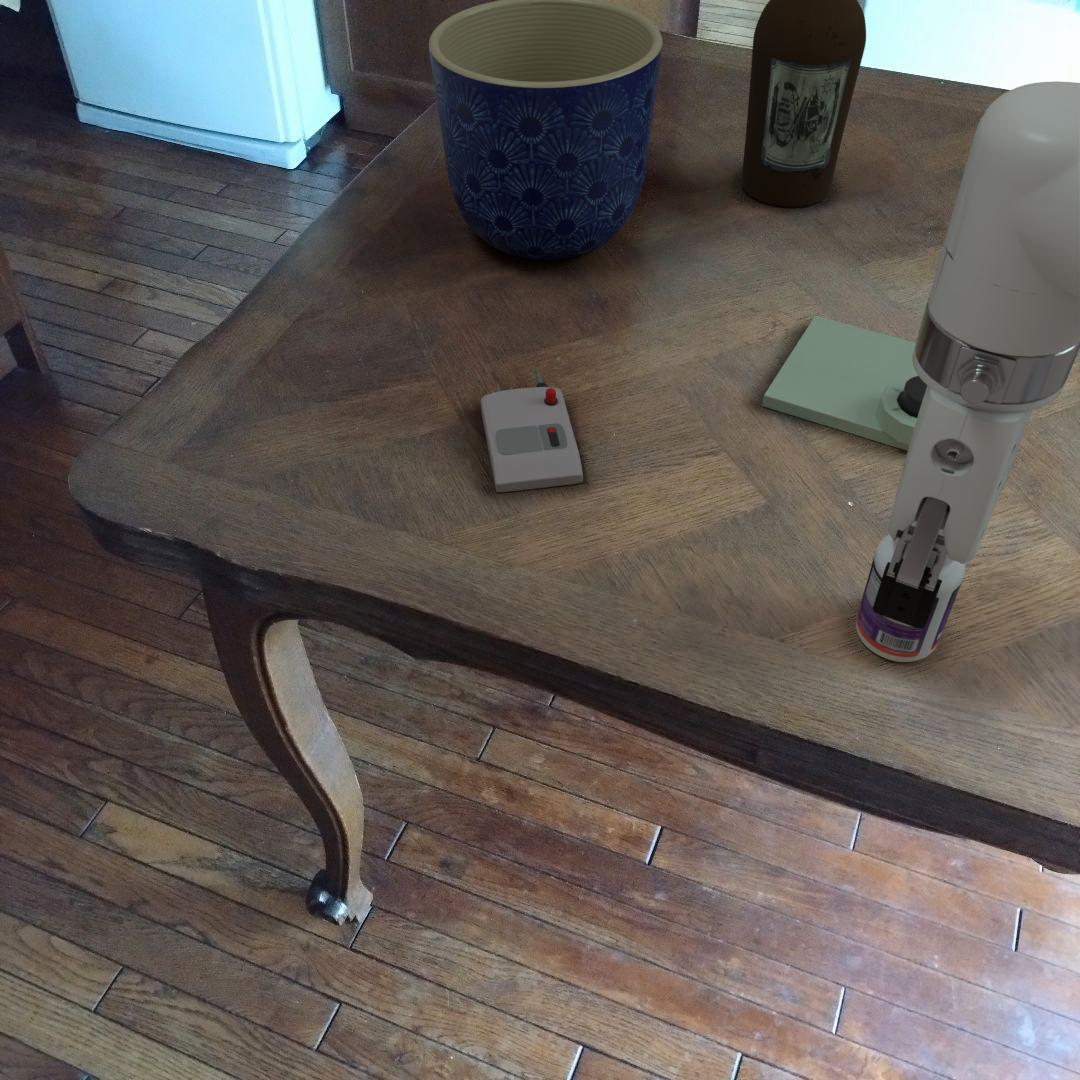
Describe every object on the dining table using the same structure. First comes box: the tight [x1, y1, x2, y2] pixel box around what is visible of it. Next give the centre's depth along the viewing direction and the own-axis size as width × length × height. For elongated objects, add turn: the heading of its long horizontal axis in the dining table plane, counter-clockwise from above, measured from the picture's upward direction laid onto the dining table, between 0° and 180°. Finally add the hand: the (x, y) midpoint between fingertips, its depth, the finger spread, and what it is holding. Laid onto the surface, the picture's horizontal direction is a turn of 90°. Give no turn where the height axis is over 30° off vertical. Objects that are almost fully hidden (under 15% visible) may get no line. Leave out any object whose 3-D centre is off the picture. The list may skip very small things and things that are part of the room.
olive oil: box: [740, 0, 867, 208], centre depth 104 cm, size 11×11×25 cm
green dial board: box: [761, 315, 918, 452], centre depth 87 cm, size 16×14×3 cm
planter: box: [428, 0, 664, 261], centre depth 100 cm, size 21×21×19 cm
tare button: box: [900, 376, 927, 418], centre depth 82 cm, size 4×4×2 cm
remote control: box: [480, 365, 584, 501], centre depth 83 cm, size 7×16×3 cm, turn 9°
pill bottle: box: [855, 521, 966, 663], centre depth 67 cm, size 5×5×10 cm
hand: (912, 582), depth 67 cm, fingers closed on pill bottle, 5 cm apart
